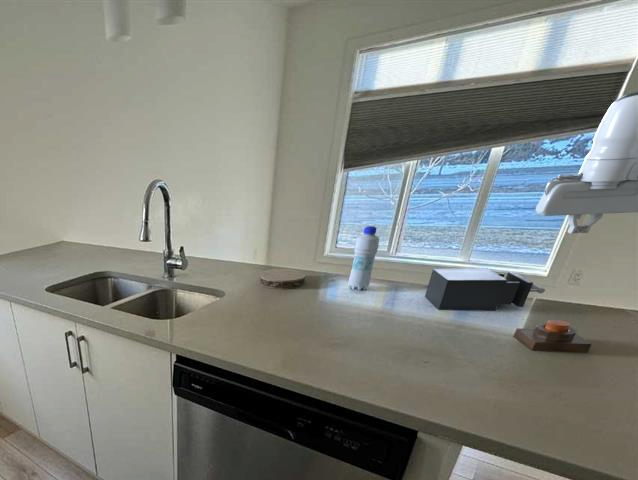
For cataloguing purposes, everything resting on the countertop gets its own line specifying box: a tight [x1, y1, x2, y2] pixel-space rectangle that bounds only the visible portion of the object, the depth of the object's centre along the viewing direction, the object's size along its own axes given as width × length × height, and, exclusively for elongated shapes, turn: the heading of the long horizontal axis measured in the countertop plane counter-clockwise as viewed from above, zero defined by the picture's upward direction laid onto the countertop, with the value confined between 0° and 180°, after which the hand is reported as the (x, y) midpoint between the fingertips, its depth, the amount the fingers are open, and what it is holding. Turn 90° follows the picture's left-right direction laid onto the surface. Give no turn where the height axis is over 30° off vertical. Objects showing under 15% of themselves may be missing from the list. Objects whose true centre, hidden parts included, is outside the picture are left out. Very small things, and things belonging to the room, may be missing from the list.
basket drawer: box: [495, 271, 546, 308], centre depth 113 cm, size 17×10×7 cm, turn 74°
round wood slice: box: [258, 268, 307, 290], centre depth 148 cm, size 16×16×3 cm
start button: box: [545, 319, 571, 332], centre depth 91 cm, size 4×4×2 cm
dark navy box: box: [424, 268, 507, 311], centre depth 116 cm, size 14×12×9 cm
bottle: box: [347, 225, 380, 291], centre depth 131 cm, size 7×7×20 cm
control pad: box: [513, 322, 592, 354], centre depth 92 cm, size 10×8×4 cm
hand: (577, 232), depth 103 cm, fingers closed
